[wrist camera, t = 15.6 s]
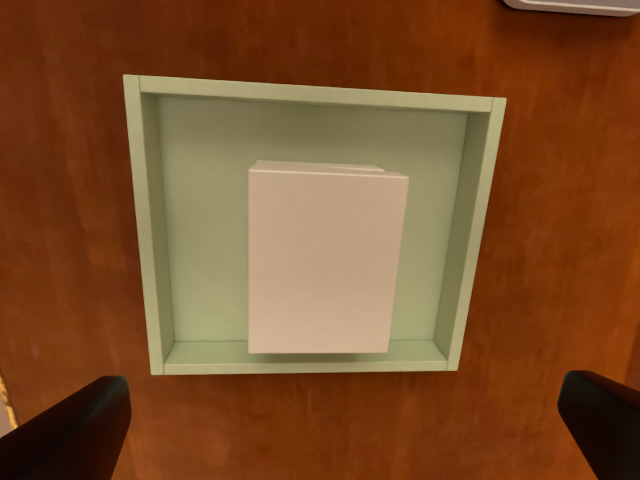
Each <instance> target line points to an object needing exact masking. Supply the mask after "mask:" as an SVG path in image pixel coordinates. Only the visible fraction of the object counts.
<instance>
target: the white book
mask: <svg viewBox="0 0 640 480" xmlns="http://www.w3.org/2000/svg"><path fill="white" fill-rule="evenodd" d="M408 185H409V177H408V176H406V175H404V174H401V173H399V172H381V171H360V170H338V169H316V168H295V167H273V166H251V167H250V168H249V169H248V353H250V354H281V353H387V352H388V346H389V338H390V330H391V322H392V314H393V306H394V298H395V290H396V282H397V274H398V266H399V258H400V250H401V242H402V233H403V225H404V217H405V209H406V201H407V193H408Z"/></svg>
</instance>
